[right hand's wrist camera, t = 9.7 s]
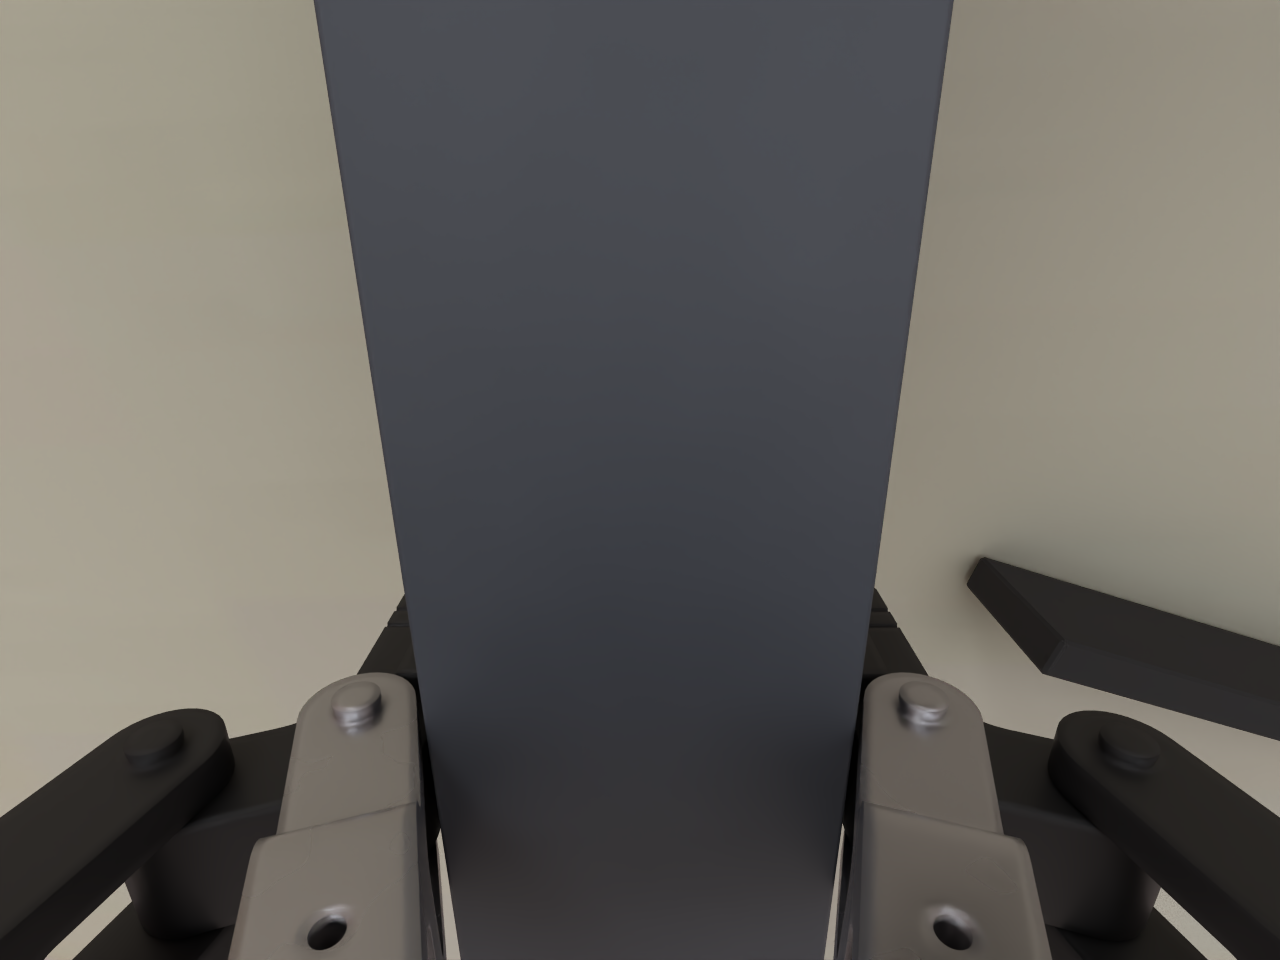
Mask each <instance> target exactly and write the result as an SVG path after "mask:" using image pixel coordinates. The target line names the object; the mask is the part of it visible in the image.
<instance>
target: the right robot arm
mask: <svg viewBox="0 0 1280 960" xmlns="http://www.w3.org/2000/svg"><path fill="white" fill-rule="evenodd" d="M842 823H843V826H844V829H845V830H844V837H843V843H842V850H841V860H840V874H839V889H838V903H837V917H836V931H835V945H834V960H1207V959H1206V958H1205V957H1204V956H1203V955H1202V954H1201V953H1200V952H1199V951H1198V950H1197V949H1196V948H1195V947H1194V946H1193V945H1192V944H1191V943H1190V942H1189V941H1188V940H1187V939H1186V938H1185V937H1184V936H1183V935H1182V934H1181V933H1180V932H1179V931H1178V930H1177V929H1176V928H1175V927H1174V926H1173V925H1172V924H1171V923H1170V922H1169V921H1168V920H1167V919H1166V918H1164V917H1163V916H1162V915H1161V914H1160V913H1159V912H1158V911H1157V910H1156V909H1155V908H1154V907H1153V906H1154V904H1155V901H1156V898H1157V896H1158V893H1159V891H1160V888H1162V889H1164V890H1165V891H1166V892H1167V893H1168V894H1169V895H1170V896H1171V897H1172V898H1173V899H1174V900H1175V901H1176V902H1177V903H1178V904H1179V905H1181V906H1182V907H1183V908H1184V909H1185V910H1186V911H1187V912H1188V913H1189V914H1190V915H1191V916H1192V917H1193V918H1194V919H1195V920H1197V921H1198V922H1199V923H1200V924H1201V925H1202V926H1203V927H1204V928H1205V929H1206V930H1207V931H1208V932H1209V933H1210V934H1211V935H1212V936H1214V937H1215V938H1216V939H1217V940H1218V941H1219V942H1220V943H1221V944H1222V945H1223V946H1224V947H1225V948H1226V949H1227V950H1228V951H1229V952H1230V953H1231V954H1232V955H1233V956H1234V957H1235V958H1236V959H1237V960H1280V817H1278V816H1277V815H1275V814H1274V813H1273V812H1271V811H1270V810H1269V809H1267V808H1266V807H1264V806H1263V805H1262V804H1260V803H1259V802H1258V801H1256V800H1255V799H1253V798H1252V797H1251V796H1249V795H1248V794H1247V793H1245V792H1244V791H1242V790H1241V789H1240V788H1238V787H1237V786H1236V785H1234V784H1233V783H1231V782H1230V781H1229V780H1227V779H1226V778H1225V777H1223V776H1222V775H1220V774H1219V773H1218V772H1216V771H1215V770H1214V769H1212V768H1211V767H1209V766H1208V765H1207V764H1205V763H1204V762H1203V761H1201V760H1200V759H1198V758H1197V757H1196V756H1194V755H1193V754H1192V753H1190V752H1189V751H1187V750H1186V749H1185V748H1183V747H1182V746H1181V745H1179V744H1178V743H1176V742H1175V741H1174V740H1172V739H1171V738H1169V737H1168V736H1166V735H1165V734H1163V733H1162V732H1160V731H1158V730H1156V729H1154V728H1152V727H1151V726H1148V725H1146V724H1144V723H1142V722H1140V721H1137V720H1134V719H1131V718H1129V717H1125V716H1122V715H1118V714H1114V713H1109V712H1103V711H1079V712H1074V713H1071V714H1069V715H1067V716H1065V717H1064V718H1063V719H1062V720H1061V721H1060V722H1059V725H1058V727H1057V731H1056V734H1055V738H1054V739H1049V738H1044V737H1040V736H1035V735H1031V734H1026V733H1022V732H1017V731H1012V730H1008V729H1004V728H1000V727H996V726H993V725H990V724H987V723H985V722H983V719H982V716H981V713H980V711H979V709H978V707H977V706H976V705H975V703H974V702H973V701H972V700H971V699H970V698H969V697H968V696H967V695H965V694H964V693H963V692H961V691H960V690H959V689H957V688H955V687H954V686H952V685H950V684H948V683H946V682H944V681H941V680H939V679H936V678H933V677H930V676H928V674H927V673H926V671H925V669H924V668H923V666H922V664H921V663H920V661H919V659H918V658H917V656H916V654H915V653H914V651H913V649H912V648H911V646H910V644H909V643H908V641H907V639H906V638H905V636H904V634H903V633H902V631H901V629H900V628H897V623H896V621H895V619H894V618H893V616H892V614H891V613H890V612H888V608H887V606H886V605H885V603H884V601H883V600H882V598H881V596H880V595H879V593H878V591H877V590H876V589H875V588H874V592H873V600H872V607H871V614H870V622H869V629H868V636H867V644H866V651H865V659H864V666H863V673H862V681H861V688H860V696H859V703H858V710H857V718H856V725H855V732H854V740H853V747H852V755H851V762H850V769H849V777H848V784H847V791H846V799H845V806H844V814H843V821H842ZM440 828H441V827H440V820H439V814H438V807H437V801H436V794H435V788H434V781H433V774H432V768H431V761H430V755H429V748H428V742H427V735H426V729H425V722H424V716H423V709H422V703H421V696H420V690H419V683H418V677H417V670H416V664H415V657H414V651H413V644H412V638H411V631H410V625H409V618H408V611H407V605H406V598H405V594H404V596H403V598H402V599H401V601H400V603H399V604H398V606H397V611H394V613H393V615H392V616H391V618H390V620H389V621H388V626H387V627H385V628H384V630H383V631H382V633H381V635H380V636H379V638H378V640H377V641H376V643H375V645H374V647H373V648H372V650H371V652H370V653H369V655H368V657H367V658H366V660H365V662H364V663H363V665H362V667H361V668H360V670H359V672H358V673H357V675H354V676H350V677H347V678H344V679H341V680H339V681H336V682H334V683H332V684H330V685H328V686H326V687H325V688H323V689H321V690H320V691H319V692H317V693H316V694H315V695H313V696H312V697H311V698H310V699H309V700H308V701H307V702H306V704H305V705H304V706H303V708H302V709H301V711H300V713H299V716H298V719H297V723H295V724H292V725H289V726H285V727H281V728H277V729H273V730H268V731H264V732H259V733H254V734H250V735H245V736H241V737H236V738H231V739H229V737H228V734H227V730H226V726H225V724H224V721H223V719H222V718H221V717H220V716H219V715H217V714H216V713H214V712H212V711H208V710H204V709H179V710H173V711H168V712H164V713H161V714H157V715H154V716H151V717H148V718H146V719H143V720H141V721H139V722H136V723H134V724H132V725H130V726H128V727H127V728H125V729H123V730H121V731H120V732H118V733H117V734H115V735H114V736H112V737H110V738H109V739H108V740H106V741H105V742H104V743H102V744H101V745H99V746H98V747H97V748H95V749H94V750H93V751H91V752H90V753H88V754H87V755H86V756H84V757H83V758H82V759H80V760H79V761H77V762H76V763H75V764H73V765H72V766H71V767H69V768H68V769H66V770H65V771H64V772H62V773H61V774H60V775H58V776H57V777H55V778H54V779H53V780H51V781H50V782H49V783H47V784H46V785H44V786H43V787H42V788H40V789H39V790H38V791H36V792H35V793H33V794H32V795H31V796H29V797H28V798H27V799H25V800H24V801H22V802H21V803H20V804H18V805H17V806H16V807H14V808H13V809H11V810H10V811H9V812H7V813H6V814H5V815H3V816H2V817H0V960H44V959H45V958H46V956H47V955H48V954H49V953H50V952H51V951H52V950H53V949H54V948H55V947H56V946H57V945H58V944H59V943H60V942H61V941H62V940H63V939H64V938H65V937H66V936H68V935H69V934H70V933H71V932H72V931H73V930H74V929H75V928H76V927H77V926H78V925H79V924H80V923H81V922H82V921H84V920H85V919H86V918H87V917H88V916H89V915H90V914H91V913H92V912H93V911H94V910H95V909H96V908H97V907H98V906H99V905H101V904H102V903H103V902H104V901H105V900H106V899H107V898H108V897H109V896H110V895H111V894H112V893H113V892H114V891H115V890H116V889H118V888H119V887H120V886H121V885H122V884H123V883H124V882H125V884H126V886H127V889H128V892H129V894H130V897H131V899H132V902H131V903H130V904H129V905H128V906H127V907H126V908H125V909H124V910H123V911H122V912H121V913H120V914H119V915H118V916H117V917H116V918H115V919H113V920H112V921H111V922H110V923H109V924H108V925H107V926H106V927H105V928H104V929H103V930H102V931H101V932H100V933H99V934H98V935H97V936H96V937H95V938H94V939H93V940H92V941H91V942H90V943H89V944H88V945H87V946H86V947H85V948H84V949H83V950H82V951H81V952H80V953H79V954H78V955H77V956H76V957H75V958H74V959H73V960H447V959H446V945H445V931H444V917H443V902H442V888H441V874H440V860H439V850H438V843H437V837H438V835H439V831H440Z"/></svg>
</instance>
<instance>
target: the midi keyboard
mask: <svg viewBox="0 0 1280 960" xmlns="http://www.w3.org/2000/svg"><path fill="white" fill-rule="evenodd" d="M967 586H968V588H969V589H970V590H971V591H972V592H973V593H974V595H975V596H976V597H977V598H978V599H979V600H980V602H981V603H982V604H983V605H984V606H985V607H986V609H987V610H988V611H989V612H990V613H991V614H992V616H993V617H994V618H995V619H996V620H997V621H998V622H999V624H1000V625H1001V626H1002V627H1003V628H1004V629H1005V631H1006V632H1007V633H1008V634H1009V635H1010V636H1011V638H1012V639H1013V640H1014V641H1015V642H1016V643H1017V645H1018V646H1019V647H1020V648H1021V649H1022V650H1023V652H1024V653H1025V654H1026V655H1027V656H1028V657H1029V659H1030V660H1031V661H1032V662H1033V663H1034V664H1035V665H1036V667H1037V668H1038V669H1039V670H1040V671H1041V672H1042V674H1046V675H1049V676H1053V677H1056V678H1060V679H1063V680H1067V681H1070V682H1074V683H1077V684H1081V685H1084V686H1088V687H1091V688H1095V689H1098V690H1102V691H1106V692H1109V693H1113V694H1116V695H1120V696H1123V697H1127V698H1130V699H1134V700H1137V701H1141V702H1144V703H1148V704H1151V705H1155V706H1158V707H1162V708H1166V709H1169V710H1173V711H1176V712H1180V713H1183V714H1187V715H1190V716H1194V717H1197V718H1201V719H1204V720H1208V721H1211V722H1215V723H1218V724H1222V725H1226V726H1229V727H1233V728H1236V729H1240V730H1243V731H1247V732H1250V733H1254V734H1257V735H1261V736H1264V737H1268V738H1271V739H1275V740H1278V741H1280V647H1279V646H1276V645H1272V644H1269V643H1266V642H1262V641H1259V640H1256V639H1252V638H1249V637H1246V636H1243V635H1239V634H1236V633H1233V632H1229V631H1226V630H1223V629H1219V628H1216V627H1213V626H1210V625H1206V624H1203V623H1200V622H1196V621H1193V620H1190V619H1186V618H1183V617H1180V616H1176V615H1173V614H1170V613H1167V612H1163V611H1160V610H1157V609H1153V608H1150V607H1147V606H1143V605H1140V604H1137V603H1133V602H1130V601H1127V600H1124V599H1120V598H1117V597H1114V596H1110V595H1107V594H1104V593H1100V592H1097V591H1094V590H1091V589H1087V588H1084V587H1081V586H1077V585H1074V584H1071V583H1067V582H1064V581H1061V580H1057V579H1054V578H1051V577H1048V576H1044V575H1041V574H1038V573H1034V572H1031V571H1028V570H1024V569H1021V568H1018V567H1014V566H1011V565H1008V564H1005V563H1001V562H998V561H995V560H991V559H988V558H982V559H981V560H980V561H979V563H978V565H977V567H976V569H975V570H974V572H973V574H972V576H971V577H970V579H969V581H968V583H967Z"/></svg>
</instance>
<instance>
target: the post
mask: <svg viewBox="0 0 1280 960" xmlns="http://www.w3.org/2000/svg"><path fill="white" fill-rule="evenodd" d="M953 2H954V0H314V5H315V12H316V18H317V25H318V31H319V38H320V44H321V51H322V57H323V64H324V70H325V77H326V83H327V90H328V96H329V103H330V109H331V116H332V122H333V129H334V136H335V142H336V149H337V155H338V162H339V168H340V175H341V181H342V188H343V194H344V201H345V207H346V214H347V220H348V227H349V233H350V240H351V246H352V253H353V259H354V266H355V272H356V279H357V285H358V292H359V298H360V305H361V312H362V318H363V325H364V331H365V338H366V344H367V351H368V357H369V364H370V370H371V377H372V383H373V390H374V396H375V403H376V409H377V416H378V422H379V429H380V435H381V442H382V448H383V455H384V462H385V468H386V475H387V481H388V488H389V494H390V501H391V507H392V514H393V520H394V527H395V533H396V540H397V546H398V553H399V559H400V566H401V572H402V579H403V585H404V592H405V598H406V605H407V611H408V618H409V625H410V631H411V638H412V644H413V651H414V657H415V664H416V670H417V677H418V683H419V690H420V696H421V703H422V709H423V716H424V722H425V729H426V735H427V742H428V748H429V755H430V761H431V768H432V774H433V781H434V788H435V794H436V801H437V807H438V814H439V820H440V827H441V833H442V840H443V846H444V853H445V859H446V866H447V872H448V879H449V885H450V892H451V898H452V905H453V911H454V918H455V924H456V931H457V937H458V944H459V951H460V957H461V960H824V954H825V947H826V939H827V932H828V924H829V917H830V910H831V902H832V895H833V887H834V880H835V873H836V865H837V858H838V851H839V843H840V836H841V828H842V821H843V814H844V806H845V799H846V791H847V784H848V777H849V769H850V762H851V755H852V747H853V740H854V732H855V725H856V718H857V710H858V703H859V696H860V688H861V681H862V673H863V666H864V659H865V651H866V644H867V636H868V629H869V622H870V614H871V607H872V600H873V592H874V585H875V577H876V570H877V563H878V555H879V548H880V541H881V533H882V526H883V518H884V511H885V504H886V496H887V489H888V481H889V474H890V467H891V459H892V452H893V445H894V437H895V430H896V422H897V415H898V408H899V400H900V393H901V385H902V378H903V371H904V363H905V356H906V349H907V341H908V334H909V326H910V319H911V312H912V304H913V297H914V290H915V282H916V275H917V267H918V260H919V253H920V245H921V238H922V230H923V223H924V216H925V208H926V201H927V194H928V186H929V179H930V171H931V164H932V157H933V149H934V142H935V135H936V127H937V120H938V112H939V105H940V98H941V90H942V83H943V75H944V68H945V61H946V53H947V46H948V39H949V31H950V24H951V16H952V9H953Z"/></svg>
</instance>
